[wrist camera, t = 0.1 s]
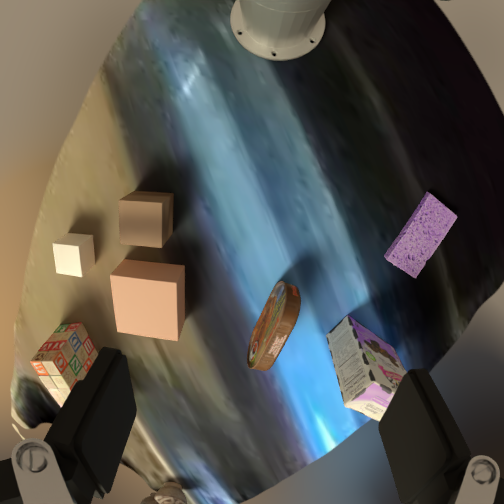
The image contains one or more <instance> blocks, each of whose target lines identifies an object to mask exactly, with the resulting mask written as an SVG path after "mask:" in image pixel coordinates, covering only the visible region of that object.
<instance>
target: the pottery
mask: <svg viewBox="0 0 504 504" xmlns="http://www.w3.org/2000/svg"><path fill="white" fill-rule="evenodd" d="M140 504H187V500H186V497H185V495H184V493H183V492H182V486H181V485H180V484H178V483H175V482H165V483H164V487H162V488H160V489H159V490H158V491H157V493H151V494H150V496H149V497H147V498H145V499H144V500H142V501H141V503H140Z"/></svg>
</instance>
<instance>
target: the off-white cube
mask: <svg viewBox="0 0 504 504" xmlns="http://www.w3.org/2000/svg"><path fill="white" fill-rule="evenodd" d="M53 251H54V258H55V265H56V271H57V273H60V274H66V275H73V276H79V277H83V276H84V275H85V274H86V273H87V272H88V271H89V270H90V269H91V268H92V267H93V266H94V265H95V254H94V242H93V235H85V234H75V233H67V234H66V235H64V236H63V237H61V238H60V239H58V240H57V241H55V242H54V243H53Z"/></svg>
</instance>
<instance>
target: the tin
mask: <svg viewBox="0 0 504 504" xmlns="http://www.w3.org/2000/svg"><path fill="white" fill-rule="evenodd" d="M300 305H301V297H300V294H299V290H298V288H297V287H296V286H294V285H291V284H288V283H285V282H284V281H280V282H278V283H277V284H276V285H275V287H274V288H273V290H272V292H271V294H270V296H269V298H268V300H267V302H266V304H265V307H264V309H263V311H262V313H261V315H260V317H259V319H258V321H257V323H256V326H255V328H254V330H253V332H252V335H251V339H250V342H249V347H248V354H247V364H248V367H249V368H250V369H257V370H262V371H267V370H268V369H270V368H271V367H272V365H273V364H274V362H275V361H276V359H277V357H278V355H279V354H280V352H281V350H282V348H283V346H284V345H285V343H286V341H287V339H288V337H289V335H290V334H291V332H292V330H293V328H294V326H295V324H296V321H297V318H298V315H299V311H300Z"/></svg>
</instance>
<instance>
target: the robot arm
mask: <svg viewBox="0 0 504 504" xmlns="http://www.w3.org/2000/svg"><path fill="white" fill-rule="evenodd" d="M330 1H331V0H236V1H235V3H234V5H233V7H232V11H231V27H232V30H233V33H234V35H235V37H236V39H237V40H238V42H239V43H240V44H241V45H242V46H243V47H244V48H245V49H247V50H248V51H249V52H251V53H252V54H254V55H256V56H258V57H261V58H265V59H268V60H275V61H286V60H292V59H296V58H298V57H301V56H303V55H305V54H307V53H309V52H310V51H311V50H312V49H313V48H315V47H316V45H317V44H318V43H319V41H320V40H321V38H322V36H323V33H324V30H325V16H324V11H325V9H326V8H327V6H328V4H329V3H330ZM442 1H448V0H442ZM240 32H241V33H242V35H239V33H240ZM310 41H313V43H311V42H310ZM274 53H275V54H276V56H273V55H272V54H274ZM136 411H137V409H136V403H135V399H134V394H133V389H132V384H131V379H130V374H129V369H128V364H127V358H126V356H125V355H122V353H121V351H120V350H118V349H113V348H108V347H103V348H102V349H101V351H100V352H99V354H98V356H97V357H96V359H95V361H94V362H93V364H92V366H91V367H90V369H89V371H88V373H87V374H86V376H85V378H84V379H83V380H78V381H77V382H76V383H75V385H74V386H73V388H72V390H71V392H70V393H69V395H68V397H67V399H66V400H65V402H64V404H63V406H62V407H61V409H60V411H59V413H58V415H57V416H56V418H55V420H54V422H53V424H52V426H51V427H50V429H49V431H48V433H47V435H46V437H45V439H44V441H42V440H40V439H36V438H29V439H25V440H22V441H21V442H19V443H18V444H17V445H16V446H15V448H14V449H13V452H12V456H11V457H12V458H9V459H6V460H2V461H0V504H91V501H92V498H93V496H94V497H97V498H100V499H103V497H104V494H105V493H109V492H110V491H111V488H112V485H113V482H114V478H115V476H116V472H117V469H118V466H119V463H120V460H121V457H122V454H123V451H124V449H125V446H126V443H127V440H128V437H129V434H130V431H131V428H132V425H133V423H134V420H135V417H136ZM379 432H380V435H381V438H382V442H383V445H384V448H385V451H386V454H387V458H388V461H389V464H390V467H391V471H392V474H393V477H394V481H395V484H396V488H397V491H398V494H399V498H400V501H401V502H402V503H404V504H504V479H502V478H500V477H499V476H500V471H499V467H498V465H497V464H496V462H495V461H494V460H493V459H491V458H489V457H488V456H476V457H474V458H473V459H471V457H470V455H471V452H470V450H469V448H468V446H467V444H466V442H465V440H464V438H463V436H462V434H461V432H460V430H459V428H458V426H457V424H456V422H455V420H454V418H453V416H452V415H451V413H450V411H449V409H448V407H447V405H446V403H445V401H444V400H443V398H442V396H441V394H440V393H439V391H438V389H437V387H436V385H435V383H434V382H433V380H432V378H431V376H430V375H429V373H428V371H427V370H426V369H411V370H409V371H408V373H407V374H405V375H404V376H403V378H402V380H401V382H400V384H399V386H398V388H397V390H396V392H395V394H394V396H393V398H392V400H391V401H390V403H389V405H388V407H387V409H386V411H385V413H384V414H383V416H382V418H381V420H380V422H379Z"/></svg>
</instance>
